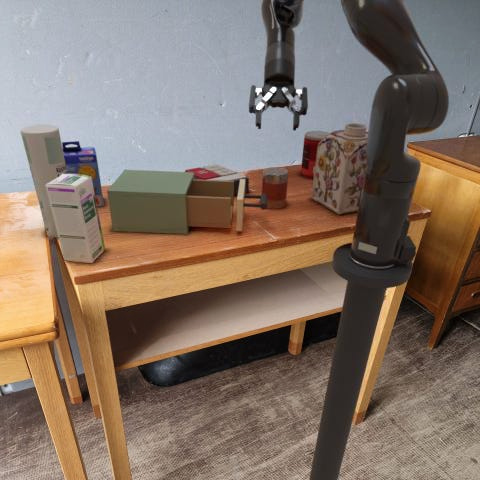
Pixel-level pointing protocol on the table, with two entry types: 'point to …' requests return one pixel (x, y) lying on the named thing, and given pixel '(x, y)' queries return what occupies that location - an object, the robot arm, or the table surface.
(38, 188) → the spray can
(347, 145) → the decorative jar
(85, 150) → the ink cartridge box
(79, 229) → the syrup box
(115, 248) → the table surface
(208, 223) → the drawer
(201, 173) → the red and beige packet
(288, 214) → the table surface
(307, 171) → the canned food
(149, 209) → the cabinet
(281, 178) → the tin
